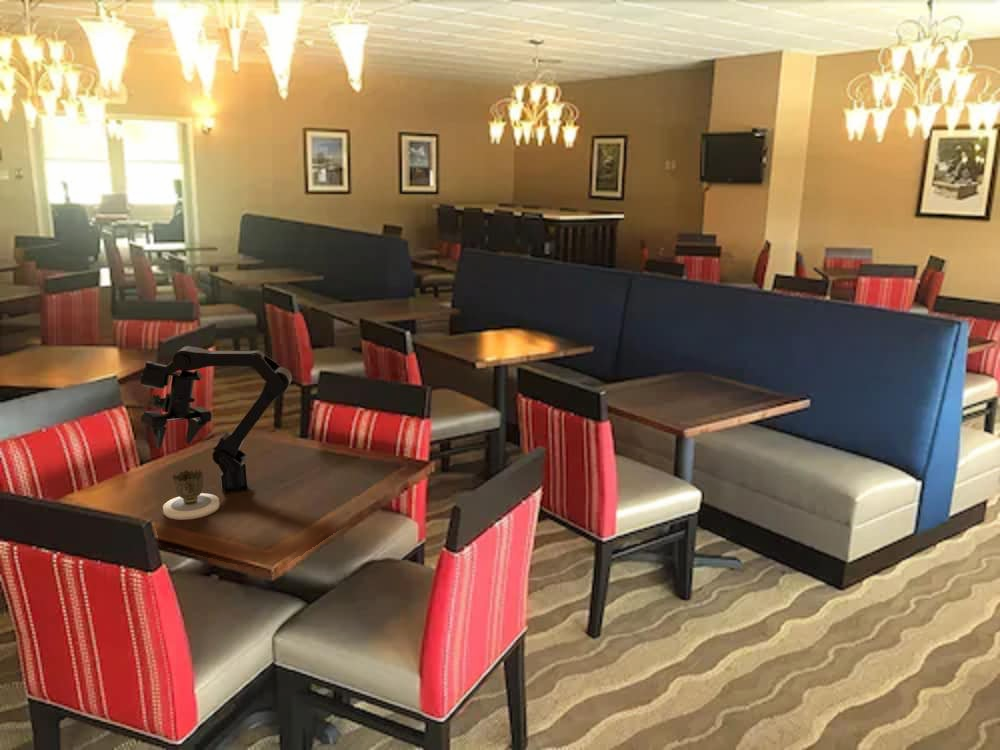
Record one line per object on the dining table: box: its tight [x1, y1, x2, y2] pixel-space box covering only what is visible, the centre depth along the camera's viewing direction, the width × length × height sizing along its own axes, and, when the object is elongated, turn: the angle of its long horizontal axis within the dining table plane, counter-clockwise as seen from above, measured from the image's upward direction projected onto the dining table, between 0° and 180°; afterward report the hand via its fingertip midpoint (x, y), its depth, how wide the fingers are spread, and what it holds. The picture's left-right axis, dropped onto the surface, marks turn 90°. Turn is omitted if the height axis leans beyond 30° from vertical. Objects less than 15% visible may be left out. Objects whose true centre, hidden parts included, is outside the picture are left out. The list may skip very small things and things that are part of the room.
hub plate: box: [162, 492, 220, 521], centre depth 214 cm, size 14×14×2 cm
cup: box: [172, 469, 204, 504], centre depth 213 cm, size 8×7×8 cm
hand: (173, 445), depth 223 cm, fingers open, 9 cm apart
